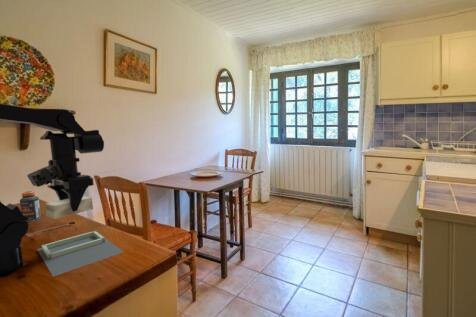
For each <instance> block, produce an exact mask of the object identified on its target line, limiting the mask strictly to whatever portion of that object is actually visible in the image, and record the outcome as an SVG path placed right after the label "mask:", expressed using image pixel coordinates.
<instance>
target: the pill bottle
mask: <svg viewBox="0 0 476 317" xmlns="http://www.w3.org/2000/svg"><path fill="white" fill-rule="evenodd" d="M19 205H20V211H21V213H22V214H23V215H24V216H25V217H27V218H29V219H28V220H26V221H27V223H29V222H34V221H38V220H40V219H41V218H42V215H41V208H40V200H39V196H37V195H36V193H35V191H34V190H28V191H24V192H22V193H21V198H20V199H19Z"/></svg>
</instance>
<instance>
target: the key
mask: <svg viewBox="0 0 476 317" xmlns="http://www.w3.org/2000/svg"><path fill="white" fill-rule="evenodd" d="M71 223H72V225H71ZM74 226H77V222H75V221H70V222H68V223H66V224H63V225H58V226H54V227H51V228H46V229H45V228H44V229H41V230H38V231H34V232H33V231H32V232H27V233H26V234H25V235H24V237H28V238H31V237H34V236H39V235H42V233H43V232H47V231H52V230H57V229H60V228H64V227H69V228H70V227H74Z"/></svg>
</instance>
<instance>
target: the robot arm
mask: <svg viewBox="0 0 476 317" xmlns="http://www.w3.org/2000/svg"><path fill="white" fill-rule="evenodd" d="M0 121H3V122H10V123H11V122H13V123H20V124H28V125H32V126H36V127H39V128H41V129H45V130H46V131H45V133H44V134H43V135H42V136H40V138H39V139H40V140H42V141H46V140H49V145H50V154H51V159H49V160H48V163H47V164H48V165H47V166H44V167H42V168H39V169H37V170H35V171H33V172H30V173H28V174H27V175H26V176H27V178H28V180H29V181H30V183H31V184H32V186H33V187H34V186H35V187H37V188H39V187H42V186H45V185H46V186H47V188H49V189H51V190H53V191H54V192H55V193H56V195H57V199H58V201H60V200H65V199H69V201H70V205H71V208H72V211H77V210H78V207H79V205H80V202H81V200H82V197H83V196H85V194H86V191H87V189H89V187H91V186H94V185H95V183H94V178H93V177H92V176H91V175H87V174H82V172H81V171H78V170H79V169H78V162H80V157H77V152H78V153H79V154H82V155H83V154H91V153H102V151H103V150H104V148H105V141H104V139H103V137H102V135H101V134H100V130H99V129H91V130H85V129H84V128H83V127H82V126H81V125H80V124H79V123H78V121H76V117H75V116H74V114H73V113H72V111H70V110H68V109H65V108H43V109H41V108H36V109H35V108H29V107H22V106H17V105H10V104H3V103H0ZM53 131H54V132H53ZM55 132H56V133H55ZM58 132H59V133H58ZM60 132H61V133H60ZM68 135H73V136H68ZM76 151H77V152H76ZM28 219H29V218H27V217H25V216H24V215H23V214H22V213H21V208H19V207H18V205H15V204H12V203H8V204H6V205H5V204H4V203H2V202H1V201H0V278H6V277H8V276H10V275H12V274H14V273H15V272H17V271H18V270H20V269H22V268H23V267H25V266H27V265H28V264H29V263H28V262H23V253H22V247H21V244H22V240H23V237H25V234H28V230H29V227H30V226H29V222H27V221H26V220H28Z"/></svg>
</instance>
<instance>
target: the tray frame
mask: <svg viewBox="0 0 476 317" xmlns="http://www.w3.org/2000/svg"><path fill="white" fill-rule="evenodd" d="M91 236H95V237H96V238H97V240H93V241H90V242H87V243H83V244H80V245H76V246H73V247H70V248H66V249H63V250H59V251H56V252H53V253H50V251H49V250H48V249H49V248H52V247H56V246H59V245H63V244H66V243H70V242H74V241H77V240H81V239H84V238H88V237H91ZM105 239H106V238H105V237H104V236H103V235H102V234H100V233H99V232H97V231H96V230H94V231H89V232H85V233H82V234H79V235H74V236H72V237H71V236H70V237H68V238H64V239H60V240H56V241H54V242H53V241H52V242H49V243H46V244H42V245H41V248H42V250H43V252H44V253H45V255H46V257H47V258H48V259H51V258H55V257H58V256H61V255H64V254H68V253H71V252H74V251H77V250H81V249H84V248H87V247H91V246H94V245H97V244H100V243H104V242H105Z"/></svg>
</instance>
